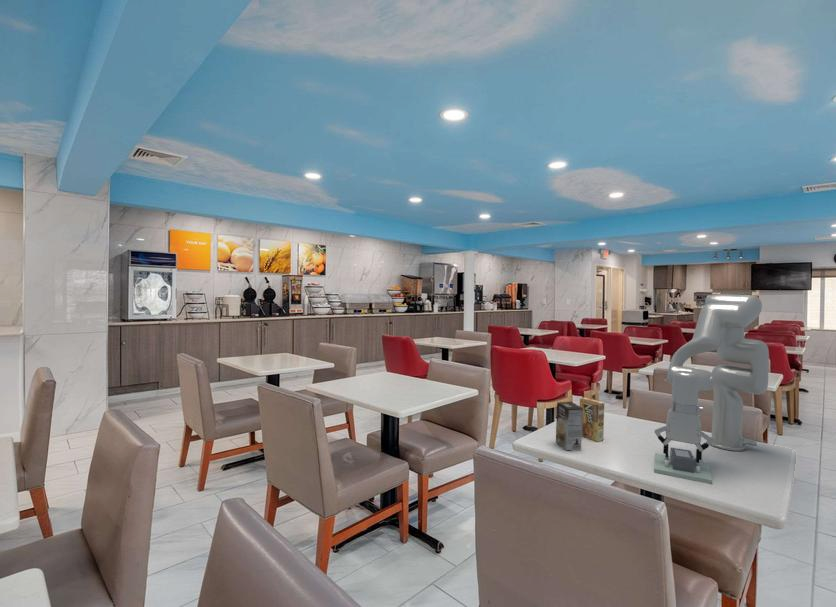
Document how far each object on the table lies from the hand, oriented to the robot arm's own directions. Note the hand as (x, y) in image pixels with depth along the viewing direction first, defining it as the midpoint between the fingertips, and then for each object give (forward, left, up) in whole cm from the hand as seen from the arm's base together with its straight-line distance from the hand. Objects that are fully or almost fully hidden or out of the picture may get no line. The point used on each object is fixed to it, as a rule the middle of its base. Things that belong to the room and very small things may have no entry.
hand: (681, 458), depth 147 cm
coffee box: (+37, -1, -4) cm, 37 cm away
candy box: (+31, -16, -4) cm, 35 cm away
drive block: (0, 0, -2) cm, 2 cm away
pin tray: (0, 0, -4) cm, 4 cm away
